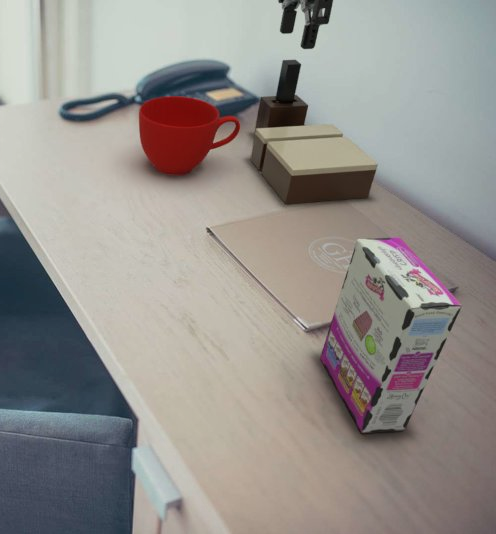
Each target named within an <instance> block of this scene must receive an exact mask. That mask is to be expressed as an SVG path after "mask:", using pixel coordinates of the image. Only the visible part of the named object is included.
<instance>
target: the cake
mask: <svg viewBox="0 0 496 534" xmlns="http://www.w3.org/2000/svg"><path fill="white" fill-rule="evenodd" d="M378 166H379V163H378V162H377V161H376V160H375V159H373V158H372V157H371V156H369V155H368V154H367V153H366V151H364V150H363V149H361V147H360V146H359V145H358V144H356V143H355V142H353V141H352V139H350V138H349V136H343V137H335V138H319V139H303V140H287V141H271V142H268V143H267V148H266V153H265V159H264V164H263V169H262V170H261V175H262V177H263V178H264V179H265V180H266V181H267V183H268V184H269V185H270V186H271V188H272V189H273V190H274V192H275V193H276V194H277V195H278V196H279V198H280V200H282V202H283V203H284V204H285V205H289V204H302V203H315V202H325V201H326V202H328V201H340V200H353V199H365V198H366V199H367V198H369V195H370V192H371V188H372V185H373V182H374V179H375V176H376V172H377V170H378Z"/></svg>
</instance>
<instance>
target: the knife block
mask: <svg viewBox="0 0 496 534" xmlns="http://www.w3.org/2000/svg"><path fill="white" fill-rule="evenodd" d="M275 98H276V95H271V96H270V95H269V96H268V95H267V96H260V98H259V103H258V111H257V116H256V120H255V127H254V133H253V136H255V131H256V129H257V128H274V127H290V126H305V123H306V118H307V113H308V110H309V104H308V103H306V102H305V101H304V100H303V99H302V98H301V97H299V95H297V94H295V97H294V102H293V103H285V104H280V103H276V101H277V100H276V99H275Z"/></svg>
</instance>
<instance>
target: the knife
mask: <svg viewBox="0 0 496 534" xmlns="http://www.w3.org/2000/svg"><path fill="white" fill-rule="evenodd" d="M301 67H302V63H300V62H299V61H298V60H297V59H283V60H282V61H281V67H280V74H279V78H278V83H277V88H276V94H275V96H276V98H275V99H276V100H277V101H276V103H280V104H285V103H293V102H294V97H295V95H296V92H297V86H298V83H299V78H300V73H301Z"/></svg>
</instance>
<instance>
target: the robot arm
mask: <svg viewBox="0 0 496 534" xmlns="http://www.w3.org/2000/svg"><path fill="white" fill-rule="evenodd" d="M277 1H278V4H281V9H282V16H281V21H280V27H279V32H280V34H282V35H286V34H288V35H289V34H290V35H291V34H292V33H293V32H294V30H295V29H294V28H295V23H296V20H297V14H298V11H297V9H298V8H299V6H300V10H301V12H302V13H303V14H304V23H305V24H304V27H303V31H302V36H301V41H300V48H301V49H303V50H313V49H314V48H315V47H316V43H317V39H318V34H319V31H320V30H319V29H320V27H321V26H323V25H328V24H329V23H330V20H331V14H332V8H333V3H334V0H277ZM323 10H324V12H323Z"/></svg>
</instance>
